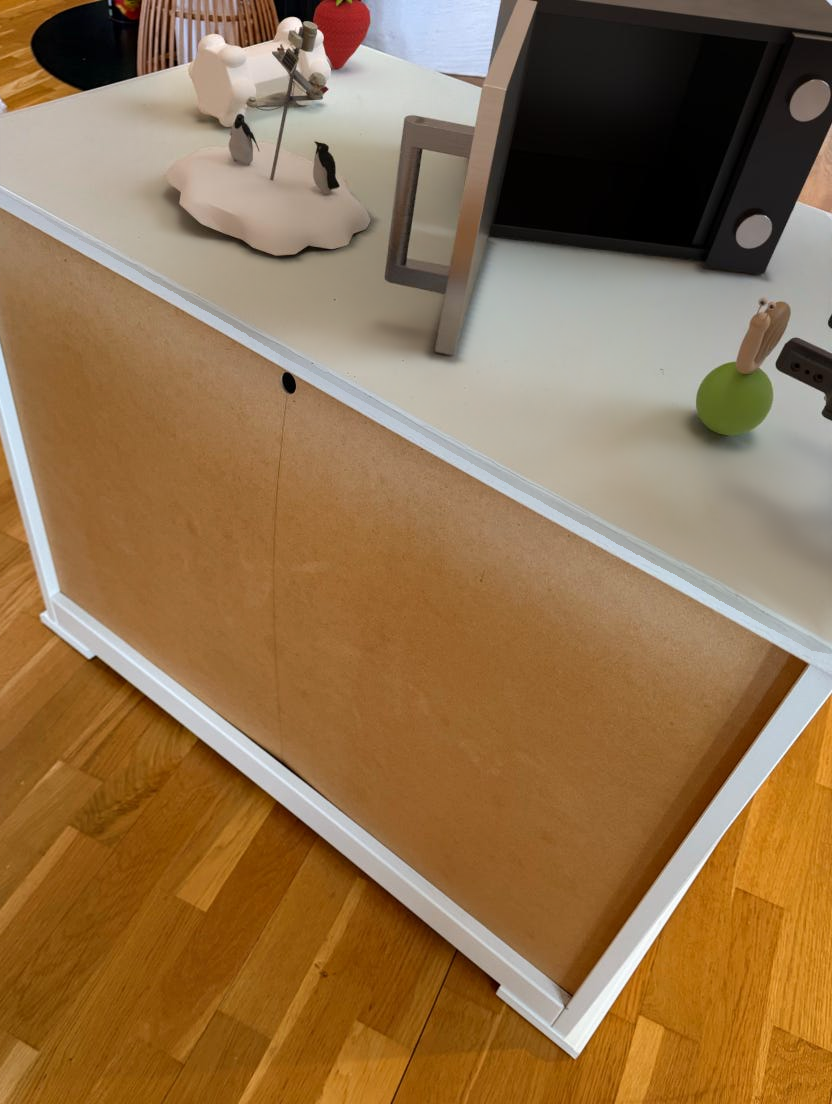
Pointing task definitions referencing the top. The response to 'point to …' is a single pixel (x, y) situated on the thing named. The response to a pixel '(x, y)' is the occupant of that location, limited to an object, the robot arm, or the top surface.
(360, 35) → the strawberry
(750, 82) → the microwave
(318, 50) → the bone shaped toy
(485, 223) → the microwave door
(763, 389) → the snail figurine
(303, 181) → the figurine
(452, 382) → the top surface
